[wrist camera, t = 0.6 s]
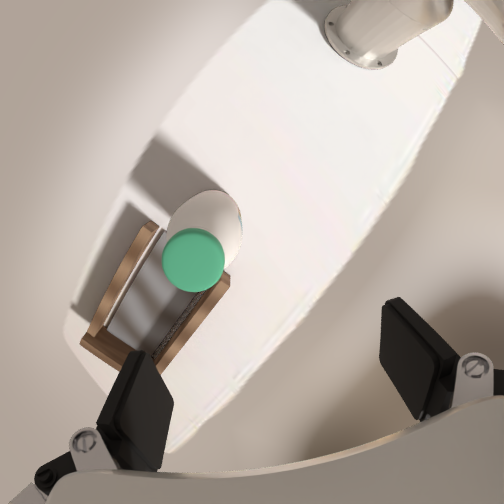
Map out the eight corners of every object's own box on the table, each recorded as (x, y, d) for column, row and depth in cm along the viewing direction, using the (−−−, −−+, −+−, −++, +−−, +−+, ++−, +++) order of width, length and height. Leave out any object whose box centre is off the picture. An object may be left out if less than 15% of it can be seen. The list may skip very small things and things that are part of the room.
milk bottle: (174, 217, 38) (119, 262, 19) (212, 177, 37) (189, 184, 18) (213, 255, 40) (195, 331, 21) (252, 217, 39) (269, 264, 20)
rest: (151, 220, 38) (137, 229, 32) (230, 275, 41) (229, 292, 35) (93, 325, 42) (79, 344, 36) (158, 368, 45) (151, 390, 40)
